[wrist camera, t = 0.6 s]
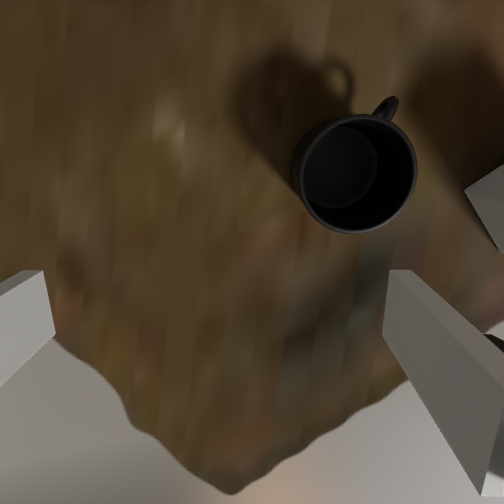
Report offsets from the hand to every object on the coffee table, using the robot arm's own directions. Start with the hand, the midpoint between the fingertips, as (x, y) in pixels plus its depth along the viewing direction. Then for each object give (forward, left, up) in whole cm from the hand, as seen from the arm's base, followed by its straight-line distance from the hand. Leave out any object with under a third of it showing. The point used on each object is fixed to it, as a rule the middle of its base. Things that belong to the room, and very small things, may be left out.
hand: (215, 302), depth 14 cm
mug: (-1, +11, -26) cm, 28 cm away
